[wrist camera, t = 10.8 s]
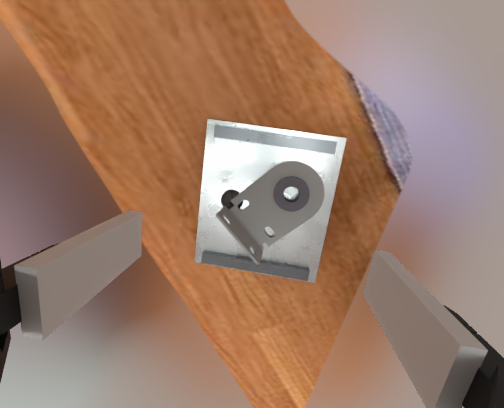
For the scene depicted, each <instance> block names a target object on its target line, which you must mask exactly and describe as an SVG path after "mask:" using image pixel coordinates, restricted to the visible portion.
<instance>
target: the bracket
mask: <svg viewBox="0 0 504 408" xmlns="http://www.w3.org/2000/svg"><path fill="white" fill-rule="evenodd" d="M288 187H295V188H296V189H298V191H299V196H298V197H297V198H296V199H294V200H288V199H287V198H286V197H285V196H284V190H285V189H286V188H288ZM324 194H325V192H324V185H323V182H322V179H321V178H320V176H319V175H318V173H317V172H316V171H315V170H314V169H313V168H311V167H310V166H308V165H306V164H304V163H301V162H296V161H288V162H283V163H280V164H278V165H276V166H274V167H273V168H271V169H270V170H269V171H268V172H266V173H265V174H264V175H263V176H261V177H260V178H259V179H257V180H256V181H255V182H254V183H252V184H251V185H250V186H249V187H247V188H246V189H245V190H243V191H242V192H241V193H240V194H238V195H237V196H236V197H235V198H233V199H232V200H231V202H232V203H233V204H234V206H233V207H232V208H230V209H228V208H227V207H226V206H223V207H222V209H221V210H220V211H219V212H218V213H217V214H216V217H217V218H218V219H219V221H220V222H221V223H222V224H223V225H224V226H225V228H226V229H227V230H228V231H229V232H230V234H231V235H232V236H233V237H234V238H235V240H236V241H237V242H238V243H239V244H240V245H241V247H242V248H243V249H244V250H245V251H246V253H247V254H248V255H249V256H250V257H251V259H252V260H253V261H254V262H255V263H256V264H257V265H258V264H260V261H261V257H262V254H263V250H262V249H261V248H260V245H262V244H263V243H266V244H267V246H268V247H269V246H270V245H272V244H273V243H275V242H276V241H278V240H279V239H281V238H282V237H284V236H285V235H287V234H288V233H290V232H291V231H293V230H294V229H296V228H297V227H299V226H300V225H302V224H303V223H305V222H306V221H308V220H309V219H311V218H312V217H313V216H314V215H315V214H316V213H317V212H318V211H319V209H320V208H321V206H322V203H323V200H324ZM244 200H247V201H248V202H249V206H248V207H246V208H245V209H244V210H240V209H239V208H238V204H240V203H241V202H242V201H244ZM224 217H225V218H226V219H227V220H228V221H229V223H230V224H229V223H228V222H227V220H226V219H225V218H224ZM265 227H270V228H271V229H272V230H273V231H274V233H275V235H274V236H273V237H270V236H268V234H267V233H266V232H265V230H264V228H265ZM250 247H252V249H253V250H254V254H253V253H252V252H251V250H250Z"/></svg>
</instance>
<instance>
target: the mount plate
mask: <svg viewBox="0 0 504 408" xmlns="http://www.w3.org/2000/svg"><path fill="white" fill-rule="evenodd" d="M346 139H347V138H342V137H335V136H328V135H321V134H313V133H306V132H299V131H292V130H284V129H277V128H270V127H263V126H256V125H248V124H241V123H234V122H227V121H219V120H212V119H208V120H207V131H206V142H205V152H204V163H203V174H202V185H201V196H200V207H199V218H198V229H197V239H196V250H195V261H194V262H197V263H203V264H208V265H214V266H220V267H226V268H232V269H237V270H243V271H249V272H255V273H260V274H266V275H272V276H278V277H283V278H289V279H295V280H301V281H307V282H312V283H315V280H316V276H317V271H318V266H319V262H320V257H321V253H322V248H323V244H324V239H325V235H326V230H327V226H328V221H329V216H330V212H331V207H332V203H333V198H334V194H335V189H336V185H337V180H338V176H339V171H340V166H341V162H342V157H343V153H344V148H345V144H346ZM288 161H296V162H301V163H304V164H306V165H308V166H310V167H311V168H313V169H314V170H315V171H316V172H317V173H318V175H319V176H320V178H321V179H322V182H323V185H324V192H325V194H324V200H323V203H322V206H321V208H320V209H319V211H318V212H317V213H316V214H315V215H314V216H313V217H312V218H311V219H309V220H308V221H306V222H305V223H303V224H302V225H300V226H299V227H297V228H296V229H294V230H293V231H291V232H290V233H288V234H287V235H285V236H284V237H282V238H281V239H279V240H278V241H276V242H275V243H273V244H272V245H270V246H269V247H268V246H267V244H266V243H263V244H262V245H260V248H261V249H262V250H263V254H262V257H261V261H260V264H258V265H257V264H256V263H255V262H254V261H253V260H252V259H251V257H250V256H249V255H248V254H247V253H246V251H245V250H244V249H243V248H242V247H241V245H240V244H239V243H238V242H237V241H236V240H235V238H234V237H233V236H232V235H231V234H230V232H229V231H228V230H227V229H226V228H225V226H224V225H223V224H222V223H221V222H220V221H219V219H218V218H217V217H216V214H217V213H218V212H219V211H220V210H221V209H222V207H223V206H226V207H227V208H228V209H230V208H232V207H233V206H234V204H233V203H232V202H231V200H232V199H233V198H235V197H236V196H237V195H238V194H240V193H241V192H242V191H243V190H245V189H246V188H247V187H249V186H250V185H251V184H252V183H254V182H255V181H256V180H257V179H259V178H260V177H261V176H263V175H264V174H265V173H266V172H268V171H269V170H270V169H271V168H273V167H274V166H276V165H278V164H280V163H283V162H288ZM284 196H285V197H286V198H287V199H288V200H294V199H296V198H297V197H298V196H299V191H298V189H296V188H295V187H288V188H286V189H285V190H284ZM248 206H249V202H248V201H247V200H244V201H242V202H241V203H240V204H238V208H239V209H240V210H244V209H245V208H246V207H248ZM224 218H225V217H224ZM225 219H226V218H225ZM226 220H227V219H226ZM227 222H228V223H229V221H228V220H227ZM229 224H230V223H229ZM264 230H265V232H266V233H267V234H268V236H270V237H273V236H274V235H275V233H274V231H273V230H272V229H271V228H270V227H265V228H264ZM250 250H251V252H252V253H253V254H254V250H253V249H252V247H250Z"/></svg>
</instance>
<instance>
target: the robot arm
mask: <svg viewBox="0 0 504 408" xmlns="http://www.w3.org/2000/svg"><path fill="white" fill-rule="evenodd" d="M141 243H142V212H139V211H133V210H128V211H126V212H124V213H122V214H120V215H118V216H116V217H114V218H112V219H110V220H108V221H105V222H103V223H101V224H99V225H97V226H95V227H93V228H91V229H89V230H87V231H85V232H83V233H80V234H78V235H76V236H74V237H72V238H70V239H68V240H66V241H64V242H62V243H59V244H56V245H52V246H49V247H47V248H45V249H43V250H41V251H40V252H37V253H35V254H33V255H31V257H30V256H29V257H26V258H24V259H22V260H20V261H18V262H16V263H14V264H12V265H9V266H7V267H5V268H3V269H1V261H0V382H1V378H2V373H3V369H4V365H5V361H6V357H7V352H8V348H9V344H10V340H11V337H10V329H11V328H13V327H14V326H15V325H17V324H18V323H20V322H21V329H22V336H24V337H29V338H34V339H39V340H44V339H45V338H46V337H47V336H49V335H50V334H51V333H52V332H53V331H54V330H56V329H57V328H58V327H59V326H60V325H61V324H63V323H64V322H65V321H66V320H67V319H68V318H69V317H70V316H72V315H73V314H74V313H75V312H76V311H78V310H79V309H80V308H81V307H82V306H83V305H85V304H86V303H87V302H88V301H89V300H90V299H92V298H93V297H94V296H95V295H96V294H97V293H98V292H100V291H101V290H102V289H103V288H104V287H105V286H107V285H108V284H109V283H110V282H111V281H112V280H114V279H115V278H116V277H117V276H118V275H119V274H120V273H122V272H123V271H124V270H125V269H126V268H127V267H129V266H130V265H131V264H132V263H133V262H134V261H136V260H137V259H138V258H139V257H140V256H141ZM363 295H364V297H365V299H366V301H367V302H368V304H369V306H370V308H371V309H372V311H373V313H374V315H375V317H376V319H377V320H378V322H379V324H380V326H381V327H382V329H383V331H384V333H385V335H386V336H387V338H388V340H389V342H390V344H391V345H392V347H393V349H394V351H395V353H396V354H397V356H398V358H399V360H400V362H401V363H402V365H403V367H404V369H405V370H406V372H407V374H408V376H409V378H410V379H411V381H412V383H413V385H414V387H415V388H416V390H417V392H418V394H419V395H420V397H421V399H422V401H423V403H424V405H425V406H426V408H462V406H463V407H464V408H504V358H503V357H502V356H501V355H500V354H499V353H498V352H497V351H496V350H495V349H494V348H493V347H492V346H490V345H489V344H488V343H487V342H486V341H485V340H484V339H483V338H482V337H481V336H480V335H479V334H477V332H476V331H475V330H474V329H473V328H472V327H471V326H469V325H468V323H467V322H466V321H464V320H463V319H462V318H461V317H460V316H459V315H458V314H457V313H455V312H454V311H452V310H451V309H449V308H448V307H446V306H444V305H442V304H441V303H440V302H439V301H438V300H437V299H436V298H435V297H434V296H433V295H432V294H431V293H430V292H429V291H428V290H427V289H426V288H425V287H424V286H423V285H422V284H421V283H420V282H419V281H418V280H417V279H416V278H415V277H414V276H413V275H412V274H411V273H410V272H409V271H408V270H407V269H406V268H405V267H404V266H403V265H402V264H401V263H400V262H399V261H398V260H397V259H396V258H395V257H394V256H393V255H392V254H391V253H390V252H386V251H380V250H375V252H374V255H373V259H372V262H371V266H370V269H369V273H368V277H367V280H366V283H365V287H364V291H363Z"/></svg>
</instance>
